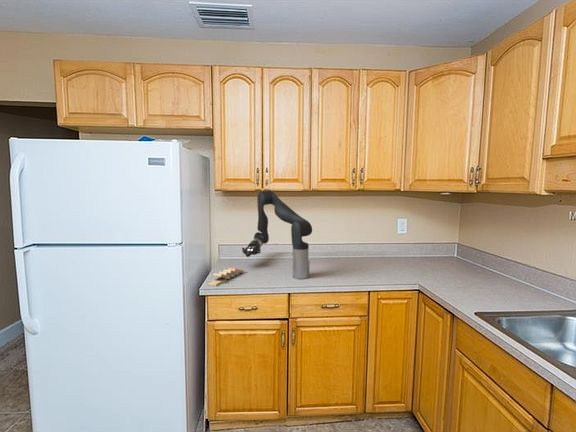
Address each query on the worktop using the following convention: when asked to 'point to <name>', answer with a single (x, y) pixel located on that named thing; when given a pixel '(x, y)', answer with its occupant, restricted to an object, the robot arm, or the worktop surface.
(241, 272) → the terracotta domino
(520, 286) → the worktop surface
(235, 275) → the mat
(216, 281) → the maple domino
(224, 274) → the maple domino
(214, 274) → the maple domino
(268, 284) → the worktop surface
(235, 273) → the maple domino
